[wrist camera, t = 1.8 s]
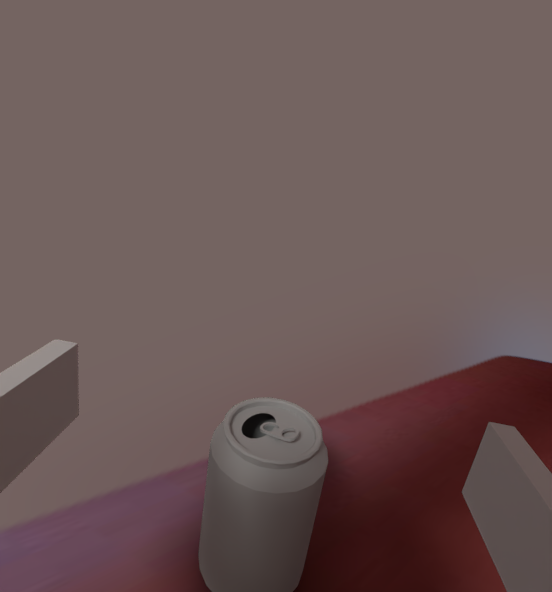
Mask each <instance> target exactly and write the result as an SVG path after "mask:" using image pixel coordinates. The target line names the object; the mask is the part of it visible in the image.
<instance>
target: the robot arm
mask: <svg viewBox="0 0 552 592" xmlns="http://www.w3.org/2000/svg"><path fill="white" fill-rule="evenodd" d="M78 403H79V399H78V344H77V343H73V342H67V341H62V340H57V339H55V340H53V341H52V342H50V343H48V344H47V345H45V346H44V347H42V348H40V349H39V350H37V351H35V352H34V353H32V354H30V355H29V356H27V357H26V358H24V359H22V360H21V361H19V362H18V363H16V364H15V365H13V366H11V367H9V368H8V369H6V370H5V371H3V372H1V373H0V493H1V492H2V491H3V490H4V489H5V488H6V487H7V486H8V485H9V484H10V483H11V482H12V481H13V480H14V479H15V478H16V477H17V476H18V475H19V474H20V473H21V472H22V471H23V470H24V469H25V468H26V467H27V466H28V465H29V464H30V463H31V462H32V461H33V460H34V459H35V458H36V457H37V456H38V455H39V454H40V453H41V452H42V451H43V450H44V449H45V448H46V447H47V446H48V445H49V444H50V443H51V442H52V441H53V440H54V439H55V438H56V437H57V436H58V435H59V434H60V433H61V432H62V431H63V430H64V429H65V428H66V427H67V426H68V425H69V424H70V423H71V422H72V421H73V420H74V419H75V418H76V417H77V416H78V415H79V404H78ZM462 494H463V496H464V499H465V501H466V503H467V505H468V507H469V509H470V512H471V514H472V516H473V518H474V520H475V523H476V525H477V527H478V529H479V531H480V533H481V536H482V538H483V540H484V542H485V544H486V547H487V549H488V551H489V553H490V555H491V558H492V560H493V562H494V564H495V566H496V568H497V571H498V573H499V575H500V577H501V579H502V582H503V584H504V586H505V588H506V590H507V592H552V474H551V472H550V471H549V470H548V469H547V467H546V466H545V465H544V463H543V462H542V461H541V460H540V458H539V457H538V456H537V455H536V453H535V452H534V451H533V450H532V448H531V447H530V446H529V444H528V443H527V442H526V441H525V439H524V438H523V437H522V436H521V434H520V433H519V432H518V431H517V429H516V428H515V427H514V426H509V425H503V424H498V423H493V422H489V423H488V425H487V428H486V430H485V433H484V436H483V438H482V441H481V443H480V446H479V449H478V451H477V454H476V456H475V459H474V462H473V464H472V467H471V469H470V472H469V474H468V477H467V480H466V482H465V485H464V487H463V490H462Z"/></svg>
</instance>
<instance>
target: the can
mask: <svg viewBox="0 0 552 592" xmlns="http://www.w3.org/2000/svg"><path fill="white" fill-rule="evenodd" d="M327 465H328V453H327V448H326V446H325V444H324V442H323V439H322V429H321V427H320V426H319V424H318V422H317V420H316V419H315V418H314V417H313V416H312V415H311V414H310V413H309V412H308V411H306V410H305V409H303V408H301V407H299V406H298V405H296V404H294V403H291V402H288V401H285V400H282V399H275V398H254V399H249V400H245V401H243V402H241V403H239V404H237V405H235V406H233V407H232V408H231V409H230V410H229V411H228V413H227V414H226V416H225V419H224V421H223V422H222V423H221V424H220V425H219V426H218V427H217V428H216V429H215V431H214V434H213V437H212V440H211V444H210V452H209V461H208V470H207V479H206V489H205V498H204V507H203V516H202V525H201V534H200V543H199V552H198V554H199V568H200V572H201V574H202V576H203V579H204V581H205V583H206V586H207V587H208V588H209V589H210V590H211V591H212V592H293V591H294V590H295V589H296V587H297V586H298V584H299V581H300V578H301V575H302V572H303V568H304V564H305V560H306V555H307V551H308V547H309V543H310V538H311V534H312V530H313V525H314V521H315V517H316V512H317V508H318V504H319V499H320V495H321V491H322V487H323V482H324V478H325V474H326V469H327Z"/></svg>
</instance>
